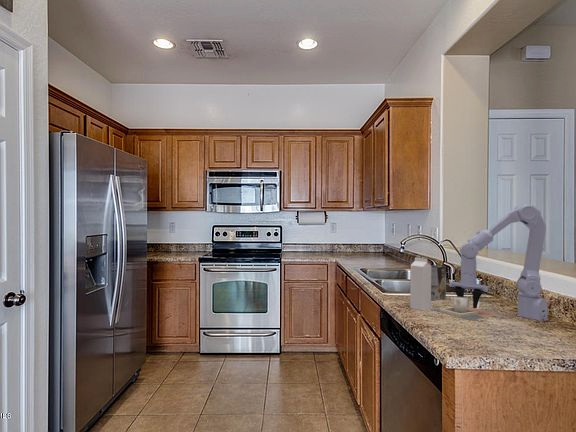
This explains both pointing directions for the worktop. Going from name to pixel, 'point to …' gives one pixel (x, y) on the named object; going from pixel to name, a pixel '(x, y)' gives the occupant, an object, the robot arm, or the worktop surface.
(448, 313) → the jug holder
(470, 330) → the worktop surface
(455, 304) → the jug
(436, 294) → the coffee box
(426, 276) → the milk
